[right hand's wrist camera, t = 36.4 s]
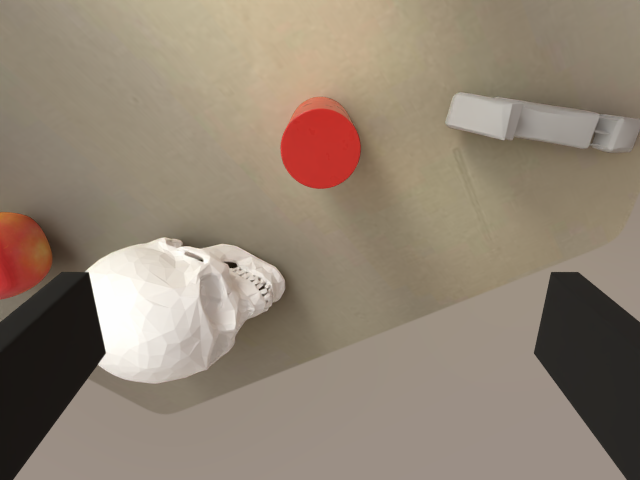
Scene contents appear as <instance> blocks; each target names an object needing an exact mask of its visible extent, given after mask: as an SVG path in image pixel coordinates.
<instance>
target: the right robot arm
mask: <svg viewBox="0 0 640 480" xmlns="http://www.w3.org/2000/svg"><path fill="white" fill-rule="evenodd" d="M105 354H106V351H105V346H104V341H103V337H102V332H101V327H100V322H99V318H98V313H97V308H96V304H95V299H94V294H93V289H92V285H91V280H90V275H89V272H61V273H60V274H59V275H58V276H57V277H55V278H54V279H53V280H52V281H50V282H49V283H48V284H47V285H45V286H44V287H43V288H42V289H41V290H39V291H38V292H37V293H36V294H34V295H33V296H32V297H31V298H29V299H28V300H27V301H26V302H25V303H23V304H22V305H21V306H20V307H18V308H17V309H16V310H15V311H13V312H12V313H11V314H10V315H9V316H7V317H6V318H5V319H4V320H2V321H1V322H0V480H13V479H14V478H15V476H16V475H17V474H18V472H19V471H20V470H21V468H22V467H23V466H24V464H25V463H26V461H27V460H28V459H29V457H30V456H31V455H32V453H33V452H34V451H35V449H36V448H37V447H38V445H39V444H40V442H41V441H42V440H43V438H44V437H45V436H46V434H47V433H48V432H49V430H50V429H51V427H52V426H53V425H54V423H55V422H56V421H57V419H58V418H59V417H60V415H61V414H62V412H63V411H64V410H65V408H66V407H67V406H68V404H69V403H70V402H71V400H72V399H73V398H74V396H75V395H76V393H77V392H78V391H79V389H80V388H81V387H82V385H83V384H84V383H85V381H86V380H87V379H88V377H89V376H90V374H91V373H92V372H93V370H94V369H95V368H96V366H97V365H98V364H99V362H100V361H101V359H102V358H103V357H104V355H105ZM534 354H535V355H536V357H537V358H538V359H539V361H540V362H541V363H542V365H543V366H544V368H545V369H546V370H547V372H548V373H549V374H550V376H551V377H552V378H553V380H554V381H555V383H556V384H557V385H558V387H559V388H560V389H561V391H562V392H563V393H564V395H565V396H566V398H567V399H568V400H569V401H570V403H571V404H572V406H573V407H574V408H575V410H576V411H577V413H578V414H579V415H580V417H581V418H582V419H583V421H584V422H585V423H586V425H587V426H588V427H589V429H590V430H591V432H592V433H593V434H594V436H595V437H596V438H597V440H598V441H599V442H600V444H601V445H602V447H603V448H604V449H605V451H606V452H607V453H608V455H609V456H610V457H611V459H612V460H613V461H614V463H615V464H616V466H617V467H618V468H619V470H620V471H621V472H622V474H623V475H624V476H625V478H626V479H627V480H640V322H639V321H638V320H636V319H635V318H634V317H633V316H631V315H630V314H629V313H628V312H627V311H625V310H624V309H623V308H622V307H620V306H619V305H618V304H617V303H615V302H614V301H613V300H612V299H611V298H609V297H608V296H607V295H606V294H604V293H603V292H602V291H601V290H599V289H598V288H597V287H596V286H595V285H593V284H592V283H591V282H590V281H588V280H587V279H586V278H585V277H583V276H582V275H581V274H580V273H578V272H551V275H550V280H549V285H548V289H547V294H546V299H545V304H544V308H543V313H542V318H541V322H540V327H539V332H538V337H537V341H536V346H535V351H534Z"/></svg>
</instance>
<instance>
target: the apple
mask: <svg viewBox="0 0 640 480" xmlns="http://www.w3.org/2000/svg"><path fill="white" fill-rule="evenodd" d="M51 265H52V252H51V249H50V245H49V243H48V240H47V238H46V236H45V234H44V232H43V231H42V229H41V228H40V226H39V225H38V224H37V223H36V222H35V221H34V220H33V219H31V218H30V217H28V216H25V215H22V214H17V213H10V212H0V300H1V299H5V298H9V297H13V296H16V295H18V294H21V293H23V292H25V291H27V290H29V289H31V288H32V287H34V286H35V285H37V284H38V283H39V282H40V281H42V280H43V278H44V277H45V276H46V275H47V274H48V272H49V270H50V268H51Z"/></svg>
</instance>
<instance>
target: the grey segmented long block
mask: <svg viewBox="0 0 640 480" xmlns="http://www.w3.org/2000/svg"><path fill="white" fill-rule="evenodd" d="M445 124H446V125H447V126H448V127H449V128H453V129H458V130H463V131H467V132H472V133H476V134H480V135H484V136H488V137H492V138H496V139H500V140H505V139H507V140H511V141H512V140H513V137H517V138H523V139H529V140H535V141H542V142H548V143H554V144H560V145H565V146H570V147H576V148H581V149H585V148H588V147H589V146H592V147H593V148H595V149H598V150H600V151H604V152H608V153H621V152H630V151H631V150H632V148H633V146H634V143H635V141H636V138H637V136H638V133H639V131H640V119H637V118H629V117H624V116H616V115H608V114H600V115H599V114H598V113H596V112H592V111H587V110H581V109H574V108H568V107H561V106H555V105H548V104H542V103H535V102H529V101H522V100H516V99H509V98H503V97H495V98H494V97H488V96H482V95H477V94H471V93H464V92H458V93H456V94H455V95H454V96H453V97H452V101H451V104H450V108H449V111H448V115H447V118H446V122H445ZM594 132H595V136H594V139H593V142H592V144H590V141H591V139H592V136H593V133H594Z"/></svg>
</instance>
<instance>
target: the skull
mask: <svg viewBox="0 0 640 480" xmlns="http://www.w3.org/2000/svg"><path fill="white" fill-rule="evenodd" d="M182 246H183V243H182V241H181V240H178V239H170V238H166V237H163V238H160V239H157V240H154V241H151V242H149V243H145V244H138V245H134V246H129V247H126V248H123V249H120V250H118V251H115V252H112V253H110V254H109V255H107V256H105V257H103V258H101V259H100V260H98V261H97V262H96V263H95V264H93V265H92V266H91V267H90V268H88V269H87V270H86V271H85V272H89V275H90V280H91V285H92V289H93V294H94V299H95V304H96V308H97V313H98V318H99V322H100V327H101V332H102V337H103V341H104V346H105V351H106V354H105V355H104V357H103V358H102V359H101V361H100V362H99V364H98V365H99V366H100V367H102V368H103V369H104V370H106V371H108V372H109V373H111V374H113V375H115V376H117V377H120V378H122V379H125V380H130V381H136V382H145V383H161V382H166V381H171V380H176V379H181V378H186V377H188V376H190V375H193V374H195V373H197V372H200V371H204V370H207V369H208V368H209V367H210V366H211V365H212V364H213V363H215V362H216V361H217V360H218V359H219V358H220V357H222V356H223V355H224V354H226V353H227V352H229V350H230V349H231V348H232V347H233V345H234V344H235V336H236V334H237V332H238V331H239V329H240V328H241V326H242V325H243V324H244V322H245V321H246V320H247V319H249V318H252V317H255V316H257V315H259V314H261V313H262V312H265V311H268V308H269V307H270V306H272V303H273V302H276V301H278V300H279V299H280V298H281V296H282V294H283V293H284V290H285V280H284V278H283V276H282V274H281V273H280V271H279V270H278V269H277V268H276V267H275V266H273V265H271V264H269V263H267V262H265V261H263V260H261V259H259V258H257V257H255V256H254V255H252V254H250V253H248V252H246V251H245V250H243V249H241V248H239V247H237V246H234V245H228V244H219V245H215V246H211V247H206V248H200V249H199V248H194V247H190V246H183V247H182ZM192 257H193V258H192ZM195 258H197V259H200V260H203V261H204V262H201V261H199V260H197V259H195ZM224 262H233V263H236V264H237V267H236V268H229V266H228V264H226V263H224ZM239 269H240V270H239ZM246 273H247V274H246ZM247 278H248V279H247ZM258 279H259V280H260V281H259V280H258ZM251 280H254V281H253V282H251ZM256 284H258V285H257V286H256ZM263 284H264V285H265V286H264V287H265V289H262V290H260V291H259V288H261V287H262V286H263ZM267 289H268V291H267ZM265 293H266V294H265ZM262 294H264V295H262Z"/></svg>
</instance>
